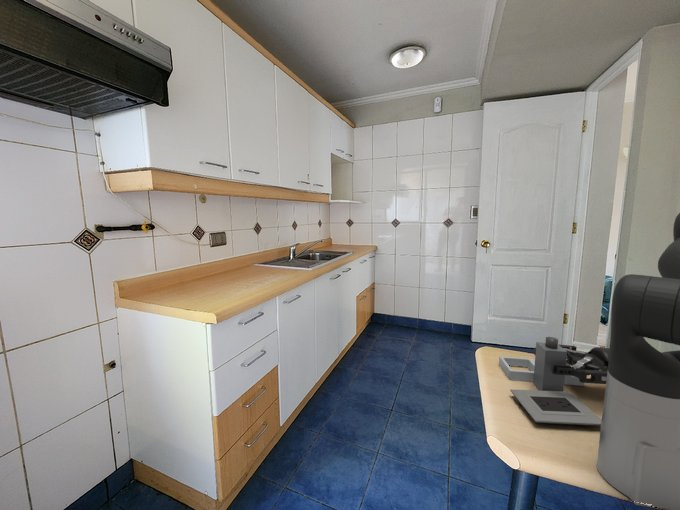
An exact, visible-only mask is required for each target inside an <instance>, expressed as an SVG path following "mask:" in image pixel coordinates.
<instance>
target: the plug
mask: <svg viewBox="0 0 680 510" xmlns="http://www.w3.org/2000/svg"><path fill="white" fill-rule="evenodd" d="M559 345H560V344H559V339H558V338H557V337H554V336H553V337H552V336H546V337H545V342H540V341H538V342H536V343H535V347H536V354H535V355H534V356H535V357H534V359H535V367H534V379H533V382H532V384H533V385H534V387H536V388H537V390H538V391H563V392H565V391H564V390H565V384H564V382H565V375H557V374H553V373H552V372H551V365H552V364H564V365H566V360H567V351H566V350H564V349H563V348H562V347H561V346H559Z"/></svg>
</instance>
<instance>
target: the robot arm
mask: <svg viewBox="0 0 680 510" xmlns="http://www.w3.org/2000/svg"><path fill="white" fill-rule="evenodd" d="M672 229H673V231H672V233H673V236H672V237H673V241H672V242H671V243H670V244H669V245H668V246H666V248H665V250H664V251H663V252H662V253H661V255H660V257H659V258H658V262H657V269H658V272H659V274H660V276H652V275H643V274H636V273H635V274H634V273H633V274H626V275H624V276H622V277H620V278H619V280H618V281H617V283H616V285H615V286H614V290H613V294H612V299H611V313H610V315H611V317H610V340H609V347H601V346H600V347H599V346H598V347H597V346H596V347H593V348H591V349H590V351H588V352H584V351H582V350H577V346H575V345H568V344H558V345H559V346H561V347H562V348H563V349H564V350H566V351H567V360H566V364H569V365H564V364H552V365H551V372H552V373H553V374H557V375H569V376H572V377H573V378H579V381H580V382H582V383H584V384H596V385H597V384H598V385H605V389H604V398H603V406H602V413H601V419H602V421H601V426H600V429H599V430H600V432H599V441H598V449H597V459H596V467H597V470H598V472H599V475H600V476H601V477H602V478H603V479H604V480H605V481H607V483H608V484H609V485H610V486H612V487H613V488H614V489H616V490H617V491H619V492H620V493H621V494H623V495H625V496H626V497H628V498H629V499H630V500H631V501H632V502H633V501H635V502H633V504H635V505H636V506H640V507H647V508H655V507H657V508H655V509H660V510H680V350H671V351H670V350H669V351H663V352H661V351H660V350H658V349H656V348H655V347H654V346H653V345H651V344H650V343H649V342H648V341H647V340H646V339H649V340H655V341H658V342H663V343H668V344H671V345H675V346H679V347H680V212H679V213H678V214H677V215H676V216H675V219H674V223H673V228H672ZM645 338H646V339H645ZM533 354H534V356H535V354H536V346H535V347H534V348H533ZM570 365H571V366H572V367H571V366H570ZM588 376H590V377H589V378H588ZM636 502H639V503H636ZM641 502H642V503H644V504H646V503H647V504H652V505H651V506H654V507H651V506H647V505H644V504H640V503H641Z"/></svg>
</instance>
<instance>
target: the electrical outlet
mask: <svg viewBox="0 0 680 510" xmlns="http://www.w3.org/2000/svg"><path fill="white" fill-rule="evenodd" d="M510 392H511V394H512V395H513V396H514V397H515V398H516V399H517V401H518V402H519V403H520V405H521V406H522V407H523V409H524V410H525V411H526V412H527V413H528V415H529V416H530V417H531V418H532V420H533V421H534V422H535V423H536V424H551V425H570V426H573V425H574V426H590V427H591V426H592V427H601V421H602V418H601V417H599V416H598V414H596V413H595V412H594V411H593V410H592V409H591V408H589V407H588V406H587V405H586V404H585V403H584V402H582V401H581V400H580V399H579V398H578V397H577V396H576V395H574V394H573V393H572V392H571V391H564V392H563V391H539V390H538V389H537V390H536V389H533V390H532V389H512V388H511V389H510Z"/></svg>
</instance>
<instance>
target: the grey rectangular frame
mask: <svg viewBox="0 0 680 510" xmlns="http://www.w3.org/2000/svg"><path fill="white" fill-rule="evenodd" d="M499 364H500V365H499ZM498 365H499V367H500V366H501V367H500V368H501V369H503V370H502V371H503V373H504V374H505V375H506V377H507V378H508V380H511V381H522V382H523V381H524V382H532V383H533V379H534V367H535V358H530V357H529V358H528V357H512V356H501V355H499V356H498ZM509 365H510V366H509ZM566 365H569V364H566ZM513 366H523V367H522V368H526V367H528V368H527V369H528V370H521V369H512V367H513ZM570 366H571V365H570ZM571 367H572V366H571ZM529 369H530V370H531V371H530V370H529ZM564 385H567V386H568V385H570V386H580V387H582V386H585V383H582V382H580V381H579V378H573V377H572V376H569V375H565V382H564Z"/></svg>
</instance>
